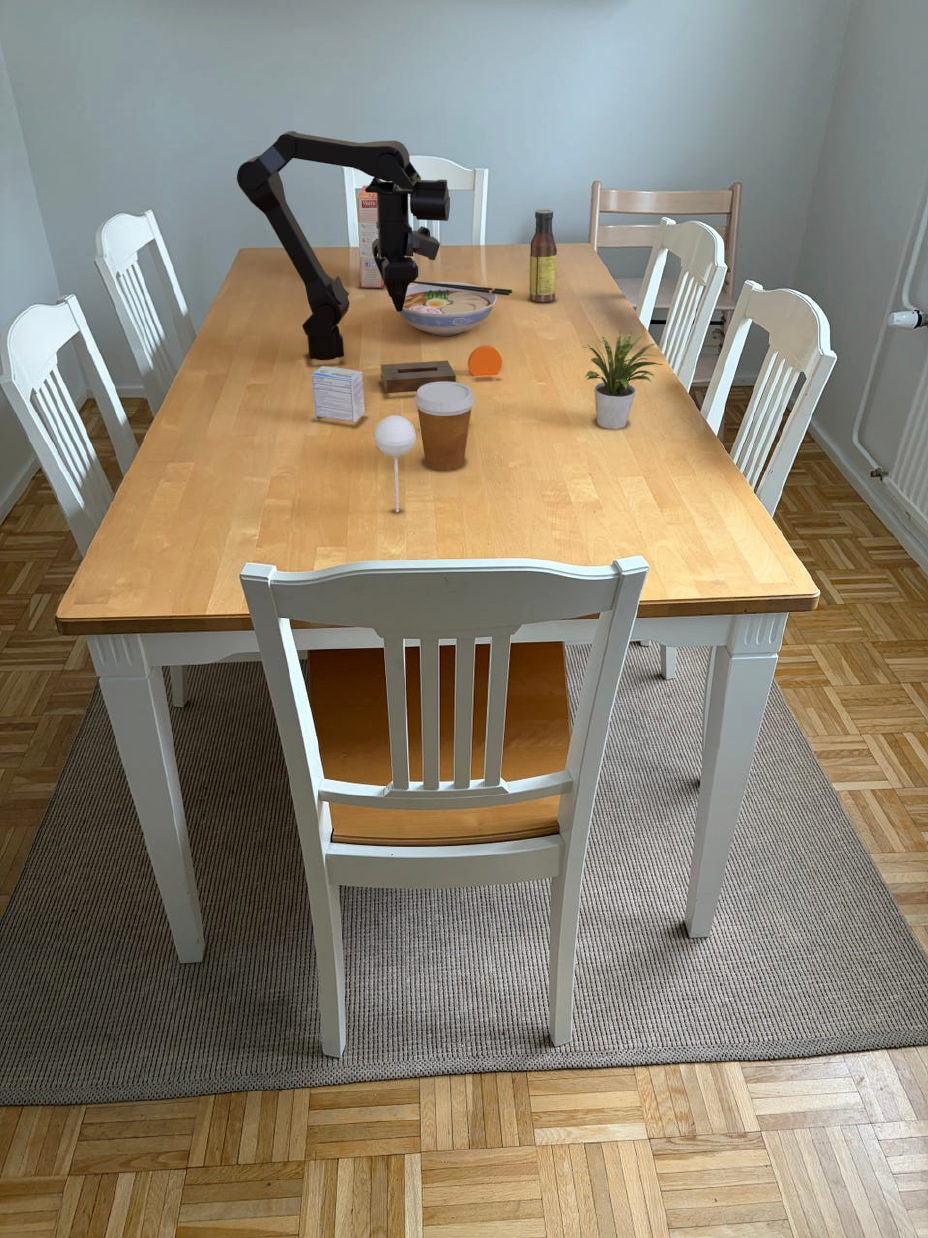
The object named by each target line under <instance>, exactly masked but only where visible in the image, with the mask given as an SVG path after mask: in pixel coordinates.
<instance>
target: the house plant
mask: <svg viewBox="0 0 928 1238" xmlns="http://www.w3.org/2000/svg"><path fill="white" fill-rule="evenodd" d="M632 333H633V331H629V332H628V333H627V334H626V335H625V337H624V338H623V340H622V342H621V337H622V329H620V330H619V332H618V335H617V338H616V344H615V350H614V356H613V350H612V347H611V345H610V343H609V342H608V340H607V339H606V338H605V337H604V336H603V335H601V338H602V340H600V339H596V338H594V339H595V340H596V341H599V342H601V343H602V344H603V345H604V349H605V351H606V355H607V362H606V360H605V357H604V355H603V353H602V352H601V350H600V349H599V348H598V347H597V345H596V344H595V343H594V342H591V341H590V343H591V344H592V345H593V346H594V347H595V348H596V349H597V350H596V349H595V348H594V347H593V346H591V345H590V344H588V343H586V345H587V347H586V346H583V348H585V349H589V350H591V351H592V353H594V355H595V356H596V357H592V358H591V359H590V360H591V362H593V363H594V364H595V365H596V366H597V367H598V368H599V369H600V370H601V372H602V374H603V375H604V377H603V376H602V375H600V374H599V373H598V372H596V371H594V370H589V371H587V373H586V374H585V376H584V378H586V379H585V381H587V380H593V379H600V380H602V382H600V383H598V384H596V385H595V386H594V398H595V399H594V401H595V413H596V424H597V425H598V426H600V427H602V428H605V429H609V430H613V429H614V430H617V429H622V428H624V427H626V426H627V423H628V420H629V419H628V418H629V416H630V412H631V409H632V405H633V403H634V399H635V395H636V392H637V391H636V388H635V387H634V386H633V385H630V383H629V382H630V381H631V383H633V382H634V381H636V380H642V381H643V380H644V381H648V382H651V384H652V383H653V382H652V381H651V379H650V378H649V377H648V376H647V375H649V376H652V377H653V378H655V374H653V372H651V371H650V370H638V369H639V368H641V367H645V366H653V365H656V366H664V364H662V363H657V362H653V361H650V359H649V358H646V356H650V357H655V356H656V357H657V356H658V355H657V354H653V353H652V354H644V353H645V352H646V351H647V350H648V349H649V348H651V347H654V346H655V345H657V344H658V343H650V344H648V345H645V346H644V347H642V348H641V349H640V350H639V351H638V352H636V354H634V355H633V356H632V357H631V358H630V359H626V358H627V356H629V353H630V352H631V350H632V349H633V347H634V346H635V345H636V344H637V343H638V342H639V341H640V339H641V338H642V337H643V335H641V336H639V337H638V338H637V339H635V340H634V341H633V342H631V337H632V335H633V334H632ZM597 351H598V352H597ZM640 360H646V361H640ZM647 360H648V361H647ZM637 370H638V371H637ZM638 374H639V375H638ZM640 374H641V375H640Z"/></svg>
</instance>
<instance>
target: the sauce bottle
mask: <svg viewBox="0 0 928 1238" xmlns="http://www.w3.org/2000/svg"><path fill="white" fill-rule="evenodd" d="M534 217H535V229H534V230H535V233H534V235H533V237H532V238H531V241H530V248H529V249H530V254H529V290H528V291H529V298H530V301H533V302H536V303H541V304H543V303H544V304H545V303H550V302H553V301H554V300H555V298H556V293H557V262H558V261H557V259H558V256H557V255H558V248H557V245H556V242H555V237H554V233H553V218H554V211H553V210H552V209H548V208H543V209H541V208H540V209H536V210H535V213H534Z"/></svg>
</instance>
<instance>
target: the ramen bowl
mask: <svg viewBox="0 0 928 1238" xmlns="http://www.w3.org/2000/svg"><path fill="white" fill-rule="evenodd" d="M512 293H513V290H512V289H507V288H499V287H498V288H496V287H495V288H494V287H486V286H482V285H477V284H472V283H468V282H459V281H418V280H415V281H412V282H411V283H410V284H409V285H408V288H407V292H406V297H405V301H404V306H403V310H402V311H401V312H398V314H399V315H400V317H401V318H402V319H403V320H404V321H405V322H406V323H407V324H409V325H410V326H412V327H414V328H416V329H418V330H420V331H423V332H426V333H429V334H430V335H433V336H439V337H452V336H456V335H458V334H460V333H462V332H466V331H469V330H472V329H474V328H475V327H477V326H479V325H480V324H482V323H483V322H484V321H485V320H486V318H487V317H488V316H489V315H490V313H491V312H492V309H493V308H494V306H495V304H496V301H497V300H498V296H497V295H500V296H510V294H512Z"/></svg>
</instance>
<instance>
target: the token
mask: <svg viewBox="0 0 928 1238" xmlns="http://www.w3.org/2000/svg"><path fill="white" fill-rule="evenodd" d="M468 356H469V357H468V359H467V367H468V370H469V372H470V374H471V375H472V376H473V377H485V376H487V377H488V376H498V374H499V373H500V371H501V369H502V366H503V358H502V356H501V354H500V352H499V351H498V349H496V348H495V347H493V346H492V345H480V346H477V347H476V348H475V349H474V350H473V351H471V353H470V354H469V355H468Z"/></svg>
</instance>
